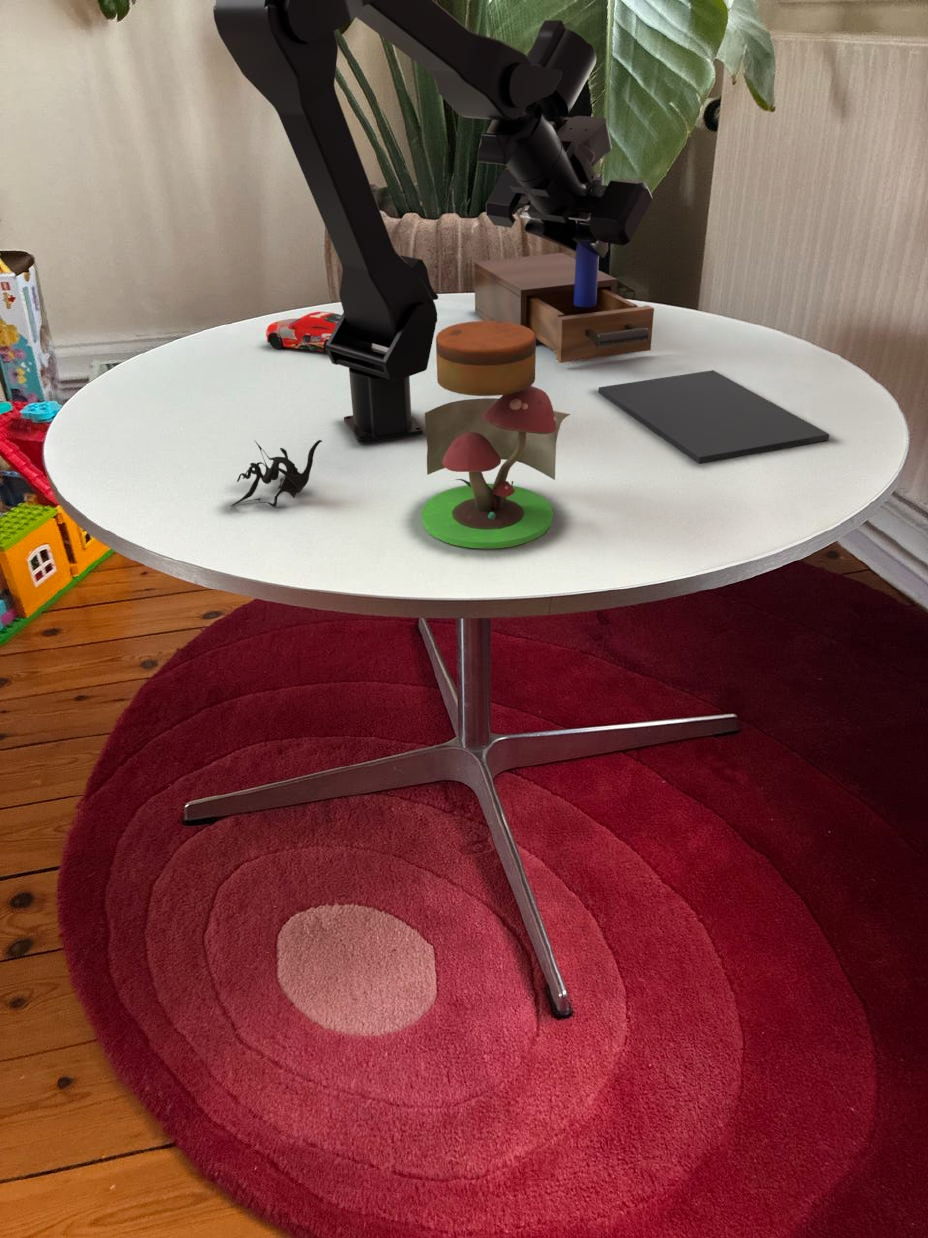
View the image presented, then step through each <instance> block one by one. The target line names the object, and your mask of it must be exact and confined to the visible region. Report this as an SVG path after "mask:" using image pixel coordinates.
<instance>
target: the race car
mask: <svg viewBox="0 0 928 1238" xmlns="http://www.w3.org/2000/svg"><path fill="white" fill-rule="evenodd" d="M341 316H342V314H339V313H335V312H329V311H314V312H309V313H308V314H305V315H304V316H303V315H302V316H301V317H299V318H287V319H281V320H278V321H275V322H272V323H270V324H269V325H268V326H267V328H266V330H265V337H266V342H267V343H268V344H269V345H270V346H271V347H272V348H273V349H275V350H280V349H282V348H291V349H292V348H293V349H299V350H307V351H309V350H310V351H316V352H326V353H327V350H326V347H325V346H326V343H327V341H328V339H329V338H330V336H331V334H332V332H333V330H334V329H335V327H336V325H337V323H338V321H339V320H340V318H341Z"/></svg>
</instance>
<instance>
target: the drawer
mask: <svg viewBox="0 0 928 1238" xmlns="http://www.w3.org/2000/svg"><path fill="white" fill-rule="evenodd" d="M654 314H655V307H652V306H650V305H642V306H638V304H636V303H635V302H632V301H630V300H628V299H626V298H624V297H622V296H620V295H618V294H617V293H616V294H614V293H612V292H610V291H608V290H606V289H604V288H603V287H600V288H597V301H596V305H595V306H592V307H578V306H575V305H574V291H567V292H558V293H550V294H541V295H533V296H527V316H526V327H527V328H529V329H531V330H532V331H533V332H534V333H535V336H536V339H538V340H539V341H541V342H542V343H541V344H543V345H545V346H546V347H548V348H549V349H551V350H552V351H554V352H555V353H556V354H555V355H556V357H555V358H556V359H555V360H556V361H557V362H559V363H560V364H563V363H569V362H577V361H583V360H591V359H597V358H604V357H612V356H618V355H625V354H632V353H639V352H647V351H651V350H652V349H651V348H652V336H653V327H654V326H653V325H654Z"/></svg>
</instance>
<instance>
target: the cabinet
mask: <svg viewBox="0 0 928 1238" xmlns="http://www.w3.org/2000/svg"><path fill="white" fill-rule="evenodd" d="M575 263H576V258H574V257H572V256H570V255H568V254H566V253H564V252H556V253H548V254H537V255H528V256H527V255H526V256H519V257H509V258H500V259H489V260H482V261H474V263H473V264H474V266H473V267H474V314H476V315H477V316H478V317H479V318H481V319H483V321H501V322H510V323H515V324H519V325H522V326H525V327H526V316H527V296H533V295H541V294H550V293H558V292H567V291H574V287H575ZM617 284H618V279H617V278H616V277H613V276H611V275H609V274H607V273H606V272H603V271H601V270H599V269H598V282H597V288H600V287H603V288H604V289H606V290H608V291H610V292H612V293H614V294H616V295H617V286H618V285H617ZM537 344H543V343H542V342H541V341H539V340H538V339H536V345H537Z"/></svg>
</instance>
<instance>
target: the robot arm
mask: <svg viewBox="0 0 928 1238" xmlns="http://www.w3.org/2000/svg"><path fill="white" fill-rule="evenodd" d="M212 14H213V20H214V24H215V27H216V30H217V34H218V35H219V37H220V39H221V41H222V43H223V44H224V46H225V47H226V49H227V51H228V52H229V54H230V56H231V57H232V59H233V61H234V63H235V64H236V66H237V67H238V69H239V71H240V72H241V74H242V75H243V76H244V78H245V79H247V81H248V82H249V83H251V85H252V86H253V87H254V88H255V89H256V90H257V91H258V92H259V93H260V94H261V95H262V96H263V97H264V98H265V99H266V100H267V101H268V102H269V103H270V104H271V105H272V107H273V108H274V109H275V111H276V113H277V115H278V118H279V120H280V122H281V124H282V127H283V130H284V132H285V135H286V136H287V139H288V141H289V143H290V146H291V149H292V151H293V153H294V156H295V158H296V160H297V162H298V165H299V167H300V169H301V173H302V174H303V177H304V180H305V181H306V184H307V186H308V189H309V191H310V193H311V196H312V198H313V200H314V203H315V205H316V208H317V210H318V212H319V215H320V217H321V219H322V221H323V222H322V223H323V224H324V227H325V229H326V231H327V235H328V236H329V238H330V241H331V243H332V246H333V248H334V250H335V253H336V255H337V258H338V259H339V260H338V261H339V262H340V265H341V268H342V270H341V277H340V282H339V283H340V285H339V291H338V294H339V295H338V296H339V301H340V303H341V307H342V311H343V312H342V314H341V315H342V316H341V318H340V320H339V321H338V323H337V325H336V327H335V329H334V330H333V332H332V334H331V336H330V338H329V339H328V341H327V343H326V346H325V347H326V350H327V352H326V354H327V355H328V357H329V360H330V363H331V364H333V365H335V366H337V365H339V366H341V367H345V368H347V369H348V374H349V375H348V376H349V386H350V398H351V409H352V415H347V416H343V423H344V424H345V426H346V427H347V429H348V430H349V432H350V433H351V435H352V436H353V437H354V438H355V440H356V441H357V443H359V444H367V443H368V444H369V443H375V442H382V441H388V440H394V439H401V438H402V439H403V438H406V437H407V438H408V437H415V436H420V435H423V434H424V428H423V426H422V425H421V424H420V423H419V422H418V421H417V420H416V418H415V417H414V416H413V415H412V402H411V400H412V398H411V379H410V377H411V376H414V375H417V374H420V373H423V372H425V371H427V370H428V366H429V361H430V356H431V351H432V346H433V341H434V336H435V332H436V325H437V322H438V311H437V306H436V302H435V301H436V300H439V295H438V294H437V293H436V292H435V290H434V288H433V286H432V284H431V281H430V277H429V271H428V267H427V266H426V264H425V262H424V260H423V259H422V258H417V257H412V256H407V255H401V254H399V253H398V252H397V250H396V249H395V247H394V245H393V242H392V239H391V237H390V234H389V232H388V229H387V226H386V223H385V221H384V219H383V216H382V213H381V210H380V207H379V204H378V201H377V199H376V197H375V194H374V192H373V189H372V186H371V183H370V180H369V177H368V174H367V172H366V169H365V167H364V165H363V161H362V159H361V155H360V154H359V151H358V148H357V145H356V143H355V140H354V137H353V135H352V132H351V129H350V127H349V124H348V121H347V119H346V116H345V113H344V111H343V108H342V105H341V103H340V100H339V98H338V97H339V96H338V94H337V91H336V87H335V81H336V72H337V71H336V70H337V60H338V53H339V45H338V40H337V36H336V32H335V31H337V30H339V29H340V28H342V27H345V26H346V25H348V24H349V23H351V22H352V21H353V20H354V19H355V18H356V19H358V20H359V21H360V22H362V23H363V24H365V25H366V26H367V27H369V28H370V29H371V30H373V31H374V32H375V33H377V34H378V35H379V36H380V37H382V38H383V39H385V40H386V41H387V42H388V43H390V44H391V45H393V46H394V47H395V48H397V49H398V50H399V51H401V52H402V54H405V55H406V56H407V57H408V58H410V59H411V60H413V62H415V63H417V65H420V67H422V68H423V69H425V71H427V72H428V73H429V75H430V76H431V77H432V78H433V79H434V83H435V86H436V89H437V92H438V94H439V96H440V97H442V98H443V100H444V101H445V102H446V103H447V104H448V105H449V106H450V107H451V109H453V111H454V112H455V113H456V114H457V115H459V116H460V117H463V118H467V119H480V120H492V121H491V123H490V125H489V127H488V128H487V131H486V132H482V133H481V134H480V139H481V140H480V145H479V147H478V148H477V149H478V150H477V161H478V162H479V163H483V164H491V165H492V164H493V165H500V166H506V167H505V168H503V170H502V172H501V174H500V176H499V178H498V180H497V182H496V184H495V186H494V187H493V189H492V191H491V193H490V194H489V196H488V199H486V202H485V215H486V216H487V218H488V219H489V221H490V222H491V223H492V224H493V226H497V227H504V228H509V229H511V228H513V226H514V224H515V222H517V221H516V220H517V219H516V218H515V216H514V215H513V214H514V212H515V210H516V208H517V206H518V205H519V206H522V207H521V209H520V211H519V212H518V217H519V218H521V219H524V220H525V222H526V224H525V225H524V232H526V233H527V234H529V235H534V236H536V237H539V238H541V239H543V240H547V241H549V242H552V243H554V244H557V245H559V246H561V247H564V248H565V249H569V250H571V251H572V252H575V253H576V242H577V243H579V244H580V245H582V246H584V247H585V248H587V249H588V250H590V251H591V252H593V253H594V254H596V255H598V256H599V258H605V257H606V255H607V253H608V251H609V244H611V245H617V246H625V245H628V244H629V243H631V241H633V240H632V239H633V238H634V236H635V234H636V232H637V230H638V229H639V226H640V224H641V223H642V221H643V219H644V217H645V215H646V213H647V211H648V209H649V208H650V206H651V204H652V202H653V200H654V199H653V196H652V193H651V191H650V189H649V187H648V185H647V183H646V182H645V181H641V180H640V181H639V180H630V179H622V178H615V179H610V180H609V182H608V184H607V185H606V184H603V185H597V184H594V185H592V186H590V187H589V188H588V189H586V185H587V183H589V184H591V183H592V181H593V179H594V177H595V176H597V172H596V171H595V169H594V166H596V164H598V163H599V162H600V160H602V158H604V156H605V155H606V154H607V155H608V154H609V153H610V152H611V151H612V150H613V146H612V140H611V136H610V132H609V126H608V121H607V118H605V117H602V116H601V117H600V116H586V115H575V116H573V117H572V116H571V117H568V115H569V114H570V112H571V110H572V109H573V106H574V105H575V103H576V101H577V99H578V97H579V95H580V93H581V92H582V90H583V88H584V86H585V85H586V83H587V80H588V78H589V77H590V75H591V73H592V71H593V69H594V67H595V66H596V63H597V53H596V50H595V48H594V47H593V45H592V44H591V43H589V42H588V41H587V40H586V39H584V38H583V37H582V35H579V34H578V33H576V32H575V31H574V30H571V29H569V28H566V25H565V23H564V22H563V20H562V19H545V20H544V21H543V23H542V24H541V26H540V28H539V31H538V33H537V37H536V39H535V41H534V43H533V44H532V46H531V48H530V50H529V52H528V54H525V53H524V52H523V51H522V50H520V49H518V48H516V47H514V46H513V45H510V44H509V43H507V42H504V41H502V40H499V39H496V38H492V37H489V36H486V35H483V34H480V33H477V32H474V31H472V30H471V29H468V28H467V27H466V26H465V25H463V23H461V22H460V21H459V20H458V19H456V18H455V17H454V16H453V15H452V14H450V13H449V11H448V10H446V9H445V8H443V7H442V5H440V4H439V3H437V1H436V0H215V5H214V6H213V7H212ZM577 220H578V221H579V223H580V225H579V227H578V229H577ZM373 345H377V346H380V347H384V348H387V351H385V350H381V349H378V348H374V347H373Z"/></svg>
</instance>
